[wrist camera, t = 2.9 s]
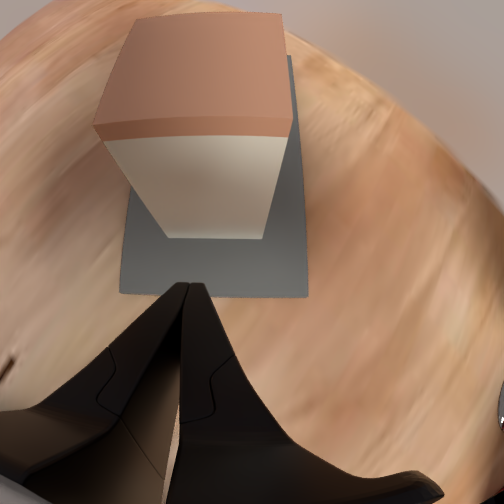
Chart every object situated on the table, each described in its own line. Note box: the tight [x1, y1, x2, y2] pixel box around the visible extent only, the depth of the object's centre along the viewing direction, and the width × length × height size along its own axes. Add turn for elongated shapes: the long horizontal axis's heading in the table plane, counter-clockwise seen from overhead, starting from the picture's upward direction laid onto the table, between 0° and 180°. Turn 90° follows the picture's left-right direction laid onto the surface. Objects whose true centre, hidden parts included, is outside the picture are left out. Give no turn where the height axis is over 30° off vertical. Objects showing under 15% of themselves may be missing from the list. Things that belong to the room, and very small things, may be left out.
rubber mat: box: [119, 55, 308, 298], centre depth 18 cm, size 18×10×1 cm, turn 0°
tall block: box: [92, 12, 293, 239], centre depth 12 cm, size 5×5×10 cm
